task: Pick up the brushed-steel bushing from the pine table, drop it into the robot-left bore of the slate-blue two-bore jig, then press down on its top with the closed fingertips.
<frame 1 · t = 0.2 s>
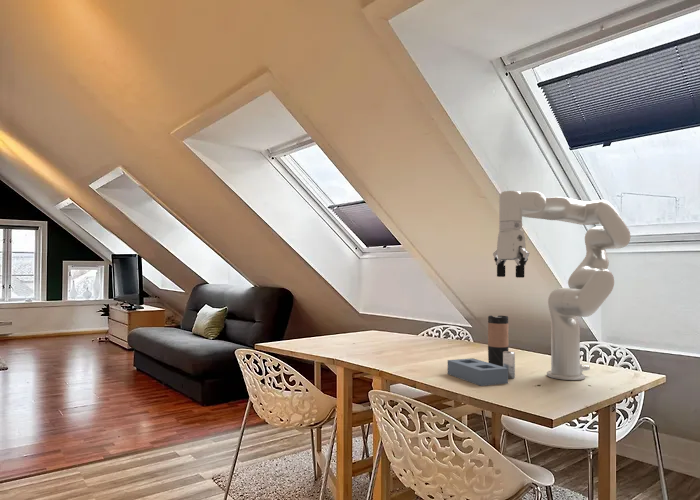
hand: (510, 277, 181), 36 cm above the table, tool pointing down, fingers open, 9 cm apart
bushing: (508, 377, 186), on the table
jig: (476, 378, 185), on the table
travel mug: (498, 369, 203), on the table
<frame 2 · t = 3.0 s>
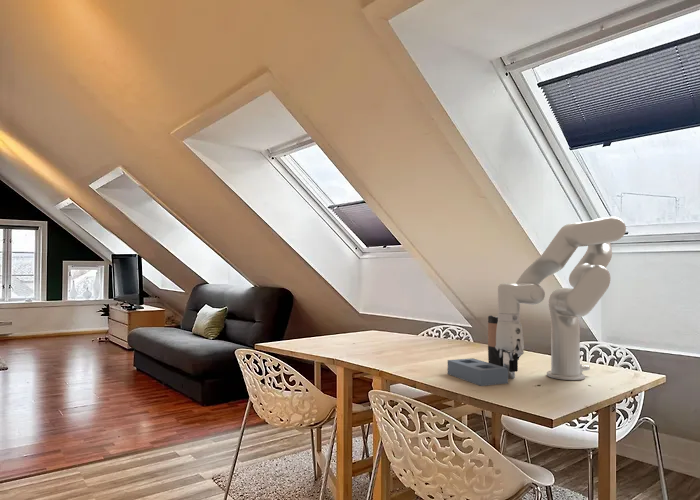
hand: (508, 369, 187), 3 cm above the table, tool pointing down, fingers closed on bushing, 4 cm apart
bushing: (508, 377, 186), on the table, touching gripper
everything else where it was.
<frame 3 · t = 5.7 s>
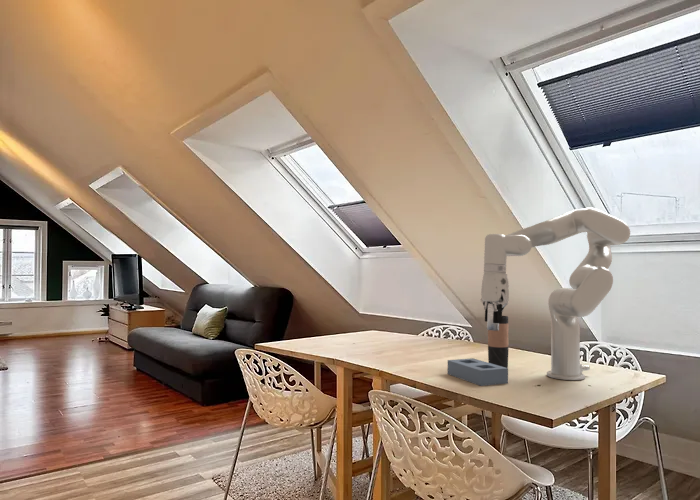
hand: (493, 321, 183), 20 cm above the table, tool pointing down, fingers closed on bushing, 4 cm apart
bushing: (492, 329, 183), point 17 cm above the table, touching gripper
everything else where it was.
when the fingers open (6 cm above the table, at t = 8.3 s): bushing drops 3 cm, resting in jig.
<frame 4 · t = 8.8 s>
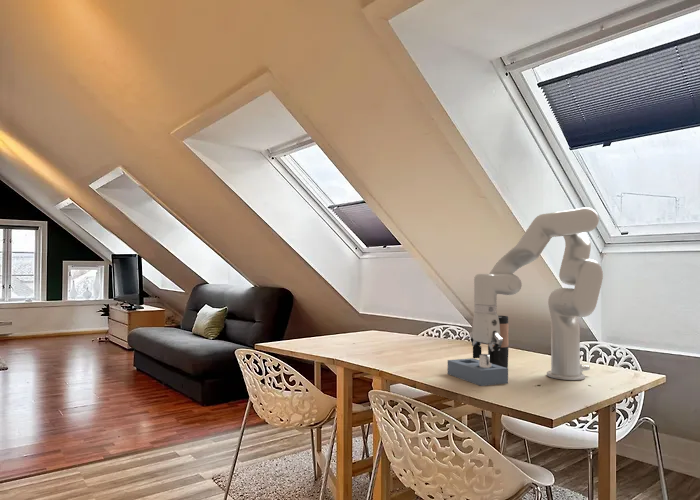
hand: (485, 360, 180), 7 cm above the table, tool pointing down, fingers open, 9 cm apart
bushing: (485, 381, 180), resting in jig
everything else where it was.
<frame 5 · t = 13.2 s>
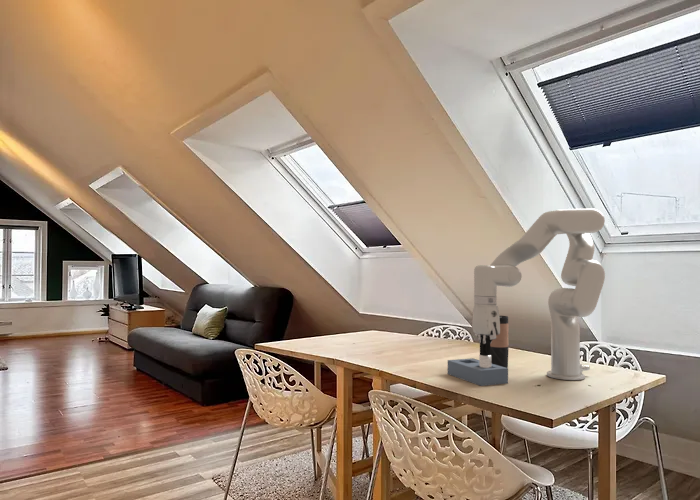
hand: (485, 354, 181), 9 cm above the table, tool pointing down, fingers closed
bushing: (485, 381, 180), resting in jig, touching gripper
everything else where it was.
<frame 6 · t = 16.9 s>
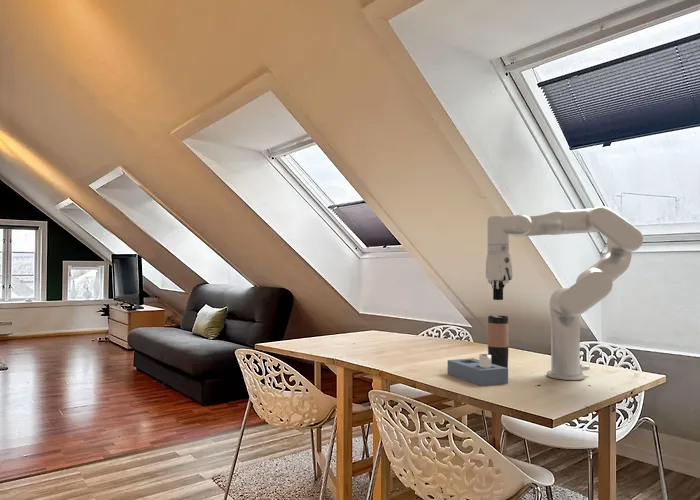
hand: (498, 299, 193), 27 cm above the table, tool pointing down, fingers closed
bushing: (485, 381, 180), resting in jig
everything else where it was.
at the end: bushing 0.0 cm from the target spot on the jig, point 0.0 cm above the jig's base; bushing tilted 0°; the gripper is holding nothing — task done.
